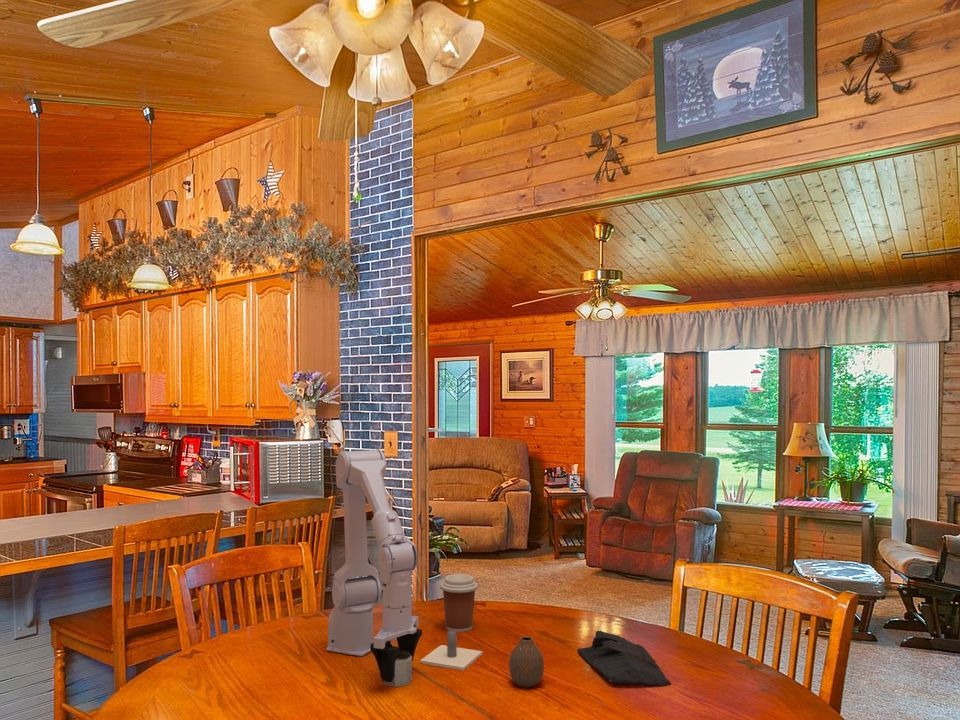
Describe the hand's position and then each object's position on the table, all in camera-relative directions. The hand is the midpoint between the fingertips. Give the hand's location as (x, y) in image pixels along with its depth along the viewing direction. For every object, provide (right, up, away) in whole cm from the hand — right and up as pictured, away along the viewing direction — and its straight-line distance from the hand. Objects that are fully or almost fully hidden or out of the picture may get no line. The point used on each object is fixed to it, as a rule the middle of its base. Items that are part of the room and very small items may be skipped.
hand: (396, 673), depth 144 cm
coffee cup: (+11, -3, +32) cm, 34 cm away
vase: (+26, -2, -1) cm, 26 cm away
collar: (0, -1, 0) cm, 1 cm away
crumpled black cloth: (+46, -3, +8) cm, 47 cm away
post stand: (+10, -2, +12) cm, 16 cm away
